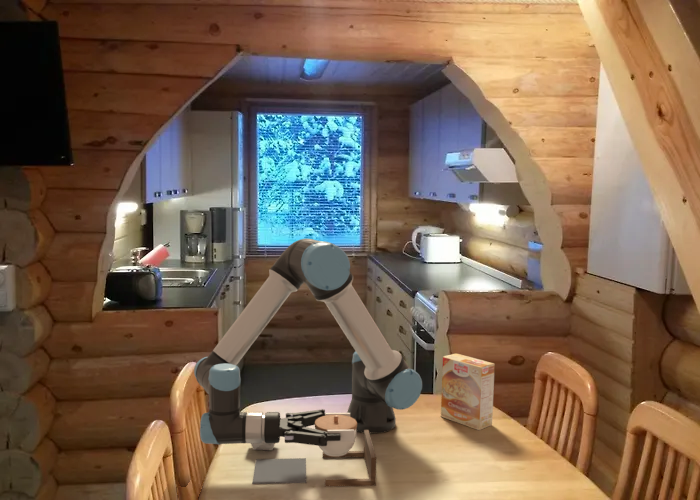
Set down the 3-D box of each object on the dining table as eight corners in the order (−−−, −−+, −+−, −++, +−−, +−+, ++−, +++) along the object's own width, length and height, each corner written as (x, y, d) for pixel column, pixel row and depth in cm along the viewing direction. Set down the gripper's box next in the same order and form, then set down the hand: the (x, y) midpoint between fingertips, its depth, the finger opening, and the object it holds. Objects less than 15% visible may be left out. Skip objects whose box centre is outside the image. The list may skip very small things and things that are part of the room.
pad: (305, 459, 167) (305, 458, 167) (306, 482, 154) (306, 481, 154) (256, 460, 166) (256, 459, 166) (252, 483, 153) (252, 482, 153)
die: (264, 459, 168) (285, 427, 170) (238, 441, 169) (258, 410, 171) (268, 457, 176) (287, 427, 178) (242, 440, 177) (262, 410, 179)
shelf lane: (367, 455, 171) (368, 429, 170) (375, 485, 153) (376, 457, 153) (322, 455, 170) (322, 430, 169) (325, 486, 152) (325, 458, 152)
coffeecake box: (439, 416, 200) (441, 356, 198) (454, 411, 205) (456, 352, 203) (478, 431, 189) (481, 367, 187) (493, 425, 194) (495, 362, 192)
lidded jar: (336, 439, 168) (337, 405, 167) (365, 452, 161) (366, 416, 160) (305, 450, 161) (306, 415, 160) (334, 464, 153) (335, 427, 152)
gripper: (266, 424, 170) (348, 423, 172) (261, 462, 147) (355, 460, 149) (266, 397, 170) (348, 396, 171) (261, 431, 147) (356, 429, 148)
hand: (352, 426), depth 160 cm, fingers closed on lidded jar, 11 cm apart
